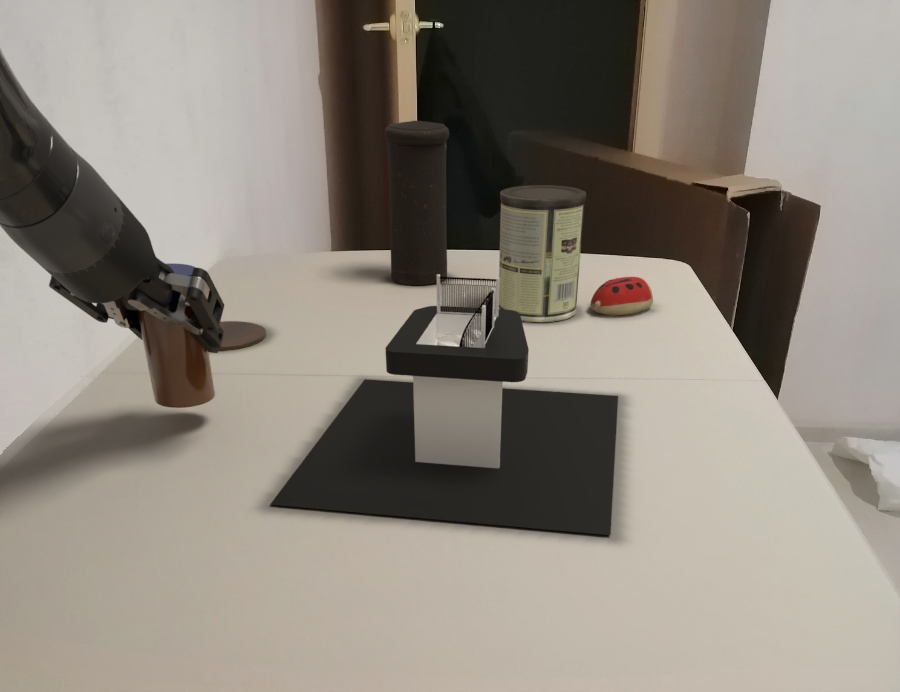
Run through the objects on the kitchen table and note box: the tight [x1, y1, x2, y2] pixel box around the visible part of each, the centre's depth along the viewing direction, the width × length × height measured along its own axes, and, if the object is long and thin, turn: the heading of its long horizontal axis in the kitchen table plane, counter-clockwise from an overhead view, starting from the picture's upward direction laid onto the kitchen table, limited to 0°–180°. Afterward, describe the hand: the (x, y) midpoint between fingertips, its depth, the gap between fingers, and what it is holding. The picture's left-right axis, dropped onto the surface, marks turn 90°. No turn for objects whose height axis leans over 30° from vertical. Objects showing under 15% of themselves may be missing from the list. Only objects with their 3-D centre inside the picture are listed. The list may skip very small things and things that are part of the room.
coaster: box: [218, 320, 267, 352], centre depth 100 cm, size 10×10×1 cm
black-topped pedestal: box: [270, 274, 619, 536], centre depth 71 cm, size 28×26×13 cm
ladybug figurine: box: [589, 276, 654, 316], centre depth 109 cm, size 7×10×4 cm
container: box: [384, 120, 450, 286], centre depth 117 cm, size 9×9×20 cm
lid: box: [166, 263, 197, 303], centre depth 72 cm, size 6×6×2 cm
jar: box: [137, 303, 216, 409], centre depth 75 cm, size 5×5×11 cm
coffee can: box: [498, 184, 587, 323], centre depth 105 cm, size 10×10×14 cm
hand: (186, 340), depth 76 cm, fingers closed on jar, 5 cm apart
